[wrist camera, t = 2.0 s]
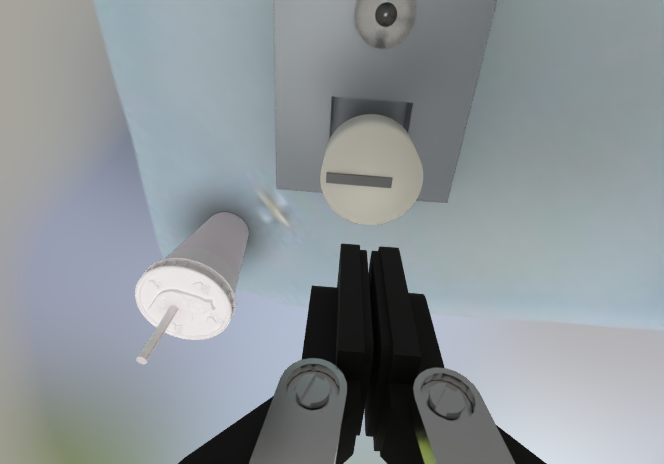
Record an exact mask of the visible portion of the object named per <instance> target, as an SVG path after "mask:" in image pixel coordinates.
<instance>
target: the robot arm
mask: <svg viewBox="0 0 664 464" xmlns="http://www.w3.org/2000/svg"><path fill="white" fill-rule="evenodd" d="M364 408H365V432H366V436H371V437H372V436H373V440H374V451H380V456H381V457H382V458H383V460H384V461H386V463H387V464H546V463H545V462H543V461H542V460H541V459H540V458H538V457H537V456H536V455H534V454H533V453H532V452H530V451H529V450H528V449H527V448H525V447H524V446H523V445H521V444H520V443H519V442H517V441H516V440H515V439H513V438H512V437H511V436H510V435H508V434H507V433H505V432H504V431H503V430H502V429H501V428H499V427H498V426H497V425H496V424H495V422H494V421H493V419H492V417H491V415H490V413H489V411H488V409H487V407H486V405H485V403H484V401H483V399H482V397H481V395H480V393H479V392H478V390H477V389H476V387H475V386H474V385H473V384H472V383H471V382H470V381H469V380H468V379H467V378H466V377H464V376H462V375H461V374H459V373H457V372H455V371H452V370H449V369H446V368H444V365H443V361H442V357H441V353H440V350H439V346H438V343H437V338H436V335H435V331H434V327H433V323H432V320H431V316H430V312H429V309H428V305H427V301H426V298H425V296H424V295H423V294H415V293H408V289H407V285H406V280H405V275H404V270H403V266H402V261H401V256H400V251H399V248H393V247H379V250H378V251H372V253H371V259H370V266H369V273H368V262H367V251H366V250H360V245H353V244H341V251H340V262H339V273H338V284H337V288H335V287H322V286H312V289H311V296H310V303H309V311H308V318H307V325H306V333H305V340H304V347H303V354H302V360H300V361H298V362H295V363H293V364H292V365H291V366H290V367H288V368H287V369H286V370H285V371H284V373H283V375H282V377H281V378H280V381H279V384H278V386H277V389H276V392H275V394H274V396H273V397H272V398H270V399H269V400H267V401H266V402H264V403H263V404H261V405H260V406H259V407H257V408H256V409H254V410H253V411H251V412H250V413H249V414H247V415H246V416H244V417H243V418H241V419H240V420H238V421H237V422H236V423H234V424H233V425H231V426H230V427H229V428H227V429H225V430H224V431H223V432H221V433H220V434H218V435H217V436H215V437H214V438H212V439H211V440H210V441H208V442H207V443H205V444H204V445H203V446H201V447H199V448H198V449H197V450H195V451H194V452H192V453H191V454H189V455H188V456H187V457H185V458H184V459H183V460H182V461H180V462H179V463H178V464H343V463H344V462H345V461H346V460H348V459H349V457H351V456H352V454H353V451H354V445H355V439H356V435H360V431H361V425H362V420H363V414H364Z"/></svg>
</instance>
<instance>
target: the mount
mask: <svg viewBox="0 0 664 464" xmlns="http://www.w3.org/2000/svg"><path fill="white" fill-rule="evenodd" d="M357 1H358V0H274V53H275V122H276V189H283V190H296V191H308V192H320V193H323V192H322V189H321V183H320V174H321V168H322V164H323V160H324V155H325V151H326V147H327V144H328V142H329V139H330V138H331V136H332V134H333V133H334V132H335V130H336V129H337V128H338V127H339V126H340V125H342V124H343V123H344V122H346V121H347V120H349V119H351V118H354V117H356V116H360V115H365V114H377V115H383V116H386V117H389V118H391V119H393V120H395V121H396V122H398V123H399V124H400V125H401V126H403V128H404V129H405V130H406V131H407V132H408V134H409V135H410V138H411V140H412V142H413V144H414V146H415V149H416V151H417V153H418V156H419V158H420V161H421V164H422V168H423V184H422V188H421V191H420V194H419V196H418V198H417V200H416V201H428V202H441V203H447V201H448V197H449V193H450V189H451V185H452V181H453V177H454V173H455V169H456V165H457V161H458V157H459V153H460V149H461V145H462V141H463V136H464V132H465V128H466V124H467V120H468V116H469V112H470V108H471V104H472V100H473V96H474V92H475V88H476V84H477V80H478V76H479V72H480V68H481V64H482V60H483V56H484V51H485V47H486V43H487V39H488V35H489V31H490V27H491V23H492V19H493V15H494V11H495V7H496V3H497V0H415V5H416V17H415V22H414V25H413V27H412V29H411V31H410V33H409V34H408V36H407V37H406V38H405V39H404V40H403V41H402V42H401V43H399V44H398V45H396V46H393V47H390V48H385V49H381V48H376V47H373V46H371V45H369V44H368V43H366V42H365V41H364V40H363V39H362V38H361V36H360V35H359V33H358V31H357V28H356V24H355V7H356V3H357Z"/></svg>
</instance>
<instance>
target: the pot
mask: <svg viewBox="0 0 664 464" xmlns="http://www.w3.org/2000/svg"><path fill="white" fill-rule="evenodd" d="M415 17H416V5H415V0H358V1H357V3H356V7H355V24H356V28H357V31H358V33H359V35H360V36H361V38H362V39H363V40H364V41H365V42H366V43H368V44H369V45H371V46H373V47H376V48H381V49H385V48H390V47H393V46H396V45H398V44H399V43H401V42H402V41H403V40H404V39H405V38H406V37H407V36H408V34H409V33H410V31H411V29H412V27H413V25H414V22H415Z"/></svg>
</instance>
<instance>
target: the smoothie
mask: <svg viewBox="0 0 664 464" xmlns="http://www.w3.org/2000/svg"><path fill="white" fill-rule="evenodd" d="M248 237H249V230H248V227H247V225H246V223H245V222H244V221H243V220H242V219H241V218H240V217H238V216H237V215H235V214H232V213H228V212H220V213H217V214H214V215H213V216H212V217H210V218H209V219H208V220H207V221H206V222H205V223H204V224H203V225H202V226H201V227H199V228H198V229H197V230H196V231H195V232H194V233H193V234H192V235H191V236H189V237H188V238H187V239H186V240H185V241H184V242H183V243H182V244H181V245H180V246H178V247H177V248H176V249H175V250H174V251H173V252H172V253H171V254H169V255H168V256H167V257H166V258H165V259H162V260H160V261H158V262H156V263H154V264H152V265H151V266H149V268H148V269H147V270H146V271H145V272H144V274H143V276H142V277H141V278H140V280H139V281H138V283H137V285H136V289H135V298H136V302H137V305H138V307H139V309H140V311H141V313H142V314H143V316H144V317H145V318H146V319H147V320H148V321H149V322H150V323H151V324H153V325H154V326H155V327H156V329H155V331H154V332H153V334H152V335H151V337H150V339H149V340H148V342H147V343H146V345H145V346H144V348H143V350H142V351H141V353H140V354H139V356H138V358H137V362H139V363H141V364H145V363H146V362H147V361H148V359H149V358H150V356H151V354H152V352H153V351H154V349H155V348H156V346H157V344H158V343H159V341H160V339H161V337H162V336H163V334H164V333H167V334H169V335H172V336H175V337H179V338H182V339H188V340H201V339H207V338H211V337H214V336H216V335H218V334H220V333H221V332H222V331H223V330H224V329H225V328H226V327H227V326H228V324H229V322H230V320H231V318H232V316H233V315H234V313H235V308H236V299H235V291H236V286H237V282H238V278H239V274H240V270H241V265H242V261H243V257H244V253H245V249H246V245H247V241H248Z"/></svg>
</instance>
